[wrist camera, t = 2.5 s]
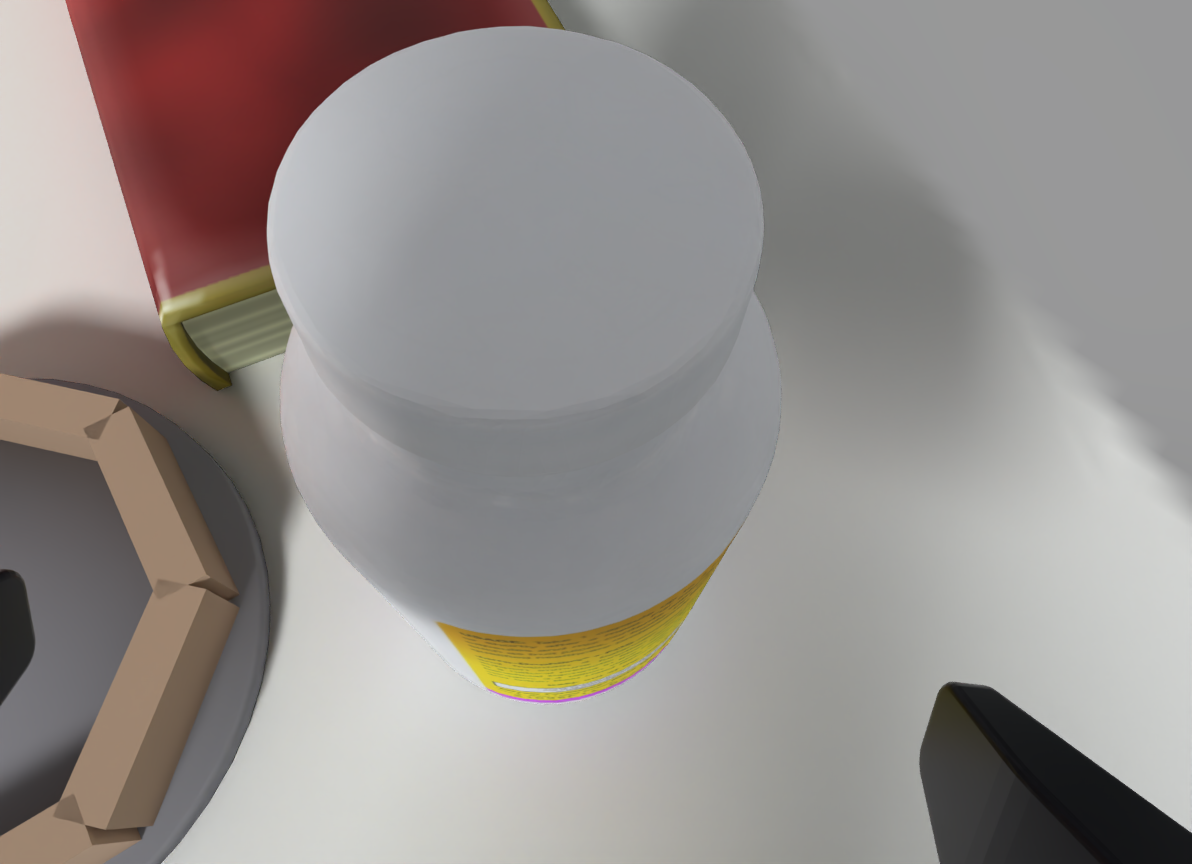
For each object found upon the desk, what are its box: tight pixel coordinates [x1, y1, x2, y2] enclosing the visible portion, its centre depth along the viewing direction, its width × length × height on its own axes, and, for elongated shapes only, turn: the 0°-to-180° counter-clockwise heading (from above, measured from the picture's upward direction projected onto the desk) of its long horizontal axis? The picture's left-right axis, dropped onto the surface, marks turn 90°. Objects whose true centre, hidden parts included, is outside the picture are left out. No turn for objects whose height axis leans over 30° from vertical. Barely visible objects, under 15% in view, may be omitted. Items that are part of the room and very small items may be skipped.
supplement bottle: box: [267, 26, 782, 705], centre depth 13 cm, size 7×7×13 cm
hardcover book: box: [65, 0, 565, 391], centre depth 24 cm, size 12×21×4 cm, turn 25°
